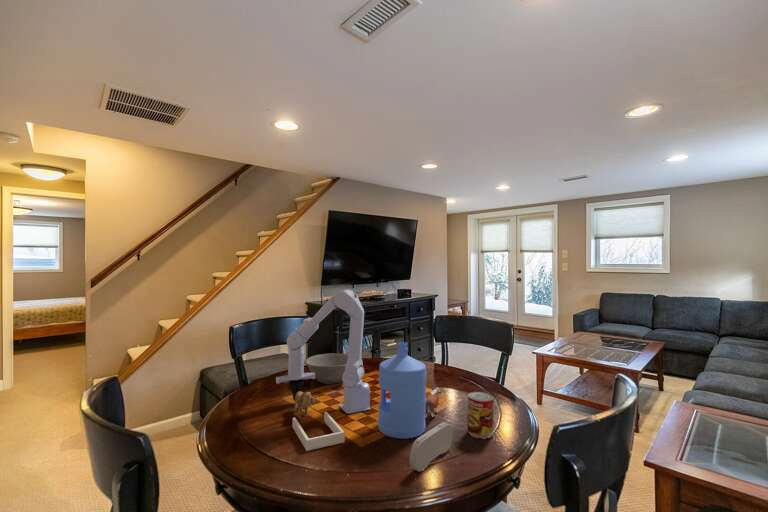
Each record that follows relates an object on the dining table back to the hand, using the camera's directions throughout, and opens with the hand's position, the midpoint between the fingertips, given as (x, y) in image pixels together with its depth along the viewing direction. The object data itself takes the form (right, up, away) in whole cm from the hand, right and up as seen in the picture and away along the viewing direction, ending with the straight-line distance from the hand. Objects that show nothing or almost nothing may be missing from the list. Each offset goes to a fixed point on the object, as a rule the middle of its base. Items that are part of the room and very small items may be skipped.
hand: (295, 399), depth 138 cm
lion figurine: (+5, -2, -9) cm, 10 cm away
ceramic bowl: (+10, -2, +27) cm, 28 cm away
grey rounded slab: (+47, -2, -38) cm, 61 cm away
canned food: (+65, -2, -22) cm, 69 cm away
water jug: (+40, -2, -20) cm, 44 cm away
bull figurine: (+52, -2, -8) cm, 52 cm away
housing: (+13, -1, -24) cm, 28 cm away
